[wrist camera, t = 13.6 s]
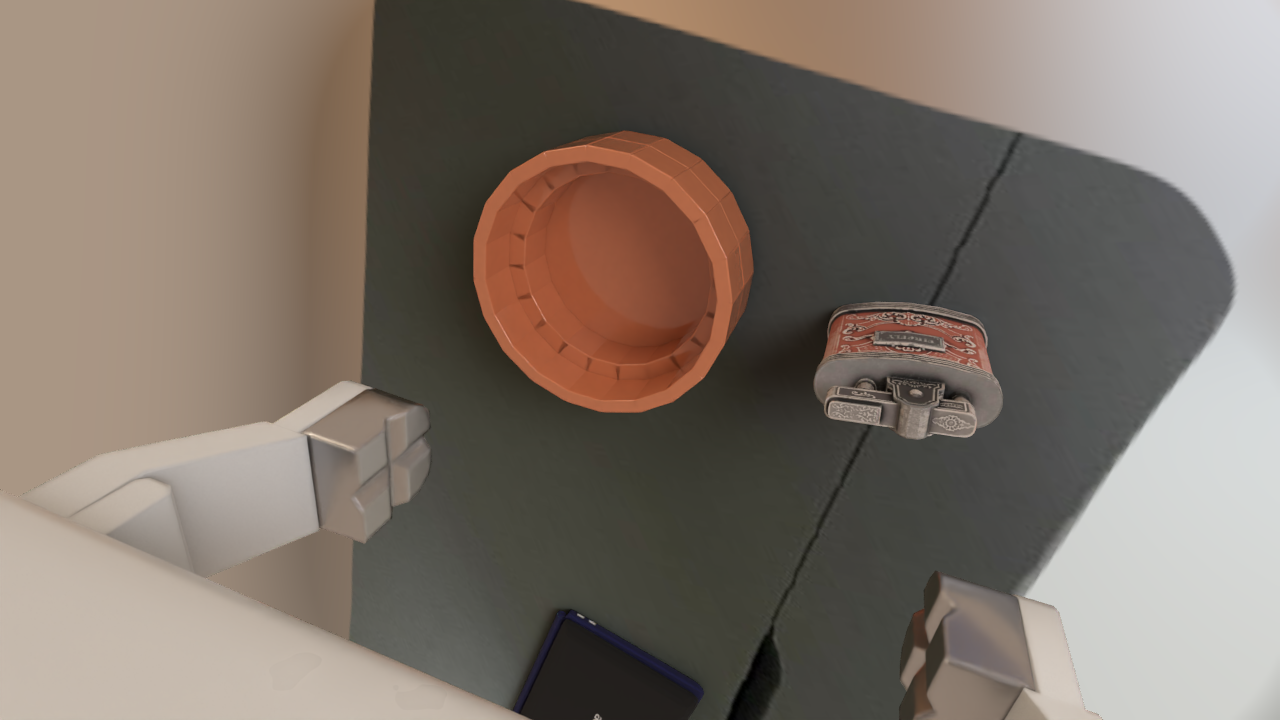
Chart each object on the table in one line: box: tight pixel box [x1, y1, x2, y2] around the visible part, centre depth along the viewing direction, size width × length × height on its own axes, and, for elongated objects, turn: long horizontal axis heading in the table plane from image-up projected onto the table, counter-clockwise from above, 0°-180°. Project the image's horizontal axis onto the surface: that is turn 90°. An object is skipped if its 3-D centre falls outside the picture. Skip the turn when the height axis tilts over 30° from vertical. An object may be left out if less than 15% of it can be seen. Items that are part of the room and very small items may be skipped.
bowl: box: [473, 131, 754, 413], centre depth 38 cm, size 15×15×6 cm
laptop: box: [513, 610, 704, 720], centre depth 59 cm, size 16×20×2 cm
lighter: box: [814, 302, 1003, 439], centre depth 33 cm, size 8×3×10 cm, turn 92°
